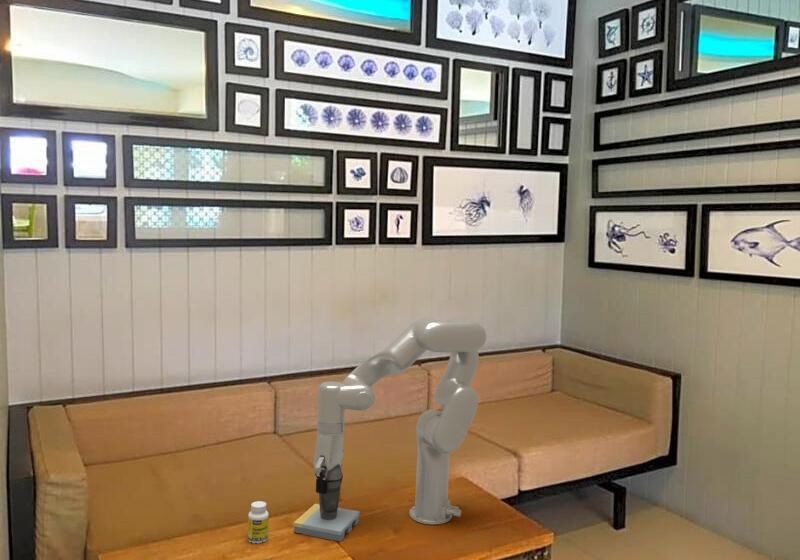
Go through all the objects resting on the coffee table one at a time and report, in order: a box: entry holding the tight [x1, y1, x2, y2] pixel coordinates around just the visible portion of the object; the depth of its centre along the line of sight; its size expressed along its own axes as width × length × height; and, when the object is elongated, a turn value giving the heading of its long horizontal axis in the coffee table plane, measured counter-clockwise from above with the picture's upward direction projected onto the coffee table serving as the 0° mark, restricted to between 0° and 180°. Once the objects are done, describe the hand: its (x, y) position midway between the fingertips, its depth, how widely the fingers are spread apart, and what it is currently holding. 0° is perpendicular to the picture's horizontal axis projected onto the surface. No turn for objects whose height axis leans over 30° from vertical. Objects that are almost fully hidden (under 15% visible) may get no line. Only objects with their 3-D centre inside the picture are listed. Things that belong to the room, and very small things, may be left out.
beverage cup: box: [318, 465, 344, 520], centre depth 187 cm, size 7×7×20 cm
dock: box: [293, 503, 361, 543], centre depth 188 cm, size 14×14×3 cm
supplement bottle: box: [246, 500, 270, 544], centre depth 179 cm, size 5×5×10 cm
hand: (328, 486), depth 187 cm, fingers open, 9 cm apart
